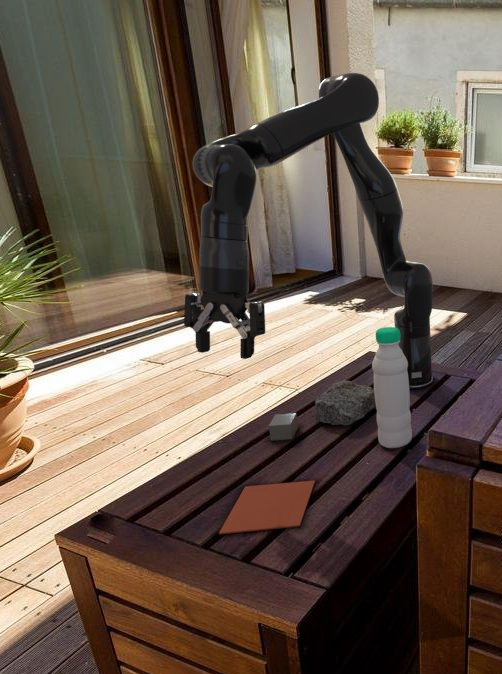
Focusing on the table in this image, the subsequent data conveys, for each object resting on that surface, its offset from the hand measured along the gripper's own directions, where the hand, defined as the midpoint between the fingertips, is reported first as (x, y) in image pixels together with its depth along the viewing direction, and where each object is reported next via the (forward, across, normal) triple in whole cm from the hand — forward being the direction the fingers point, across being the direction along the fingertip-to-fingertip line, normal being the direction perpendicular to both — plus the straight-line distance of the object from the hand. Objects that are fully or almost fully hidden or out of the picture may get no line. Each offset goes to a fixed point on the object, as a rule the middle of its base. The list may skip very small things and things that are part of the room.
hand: (224, 354), depth 85 cm
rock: (+18, -12, -26) cm, 34 cm away
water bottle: (+18, -28, -16) cm, 37 cm away
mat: (+23, -15, +8) cm, 28 cm away
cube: (+20, -3, -15) cm, 25 cm away
